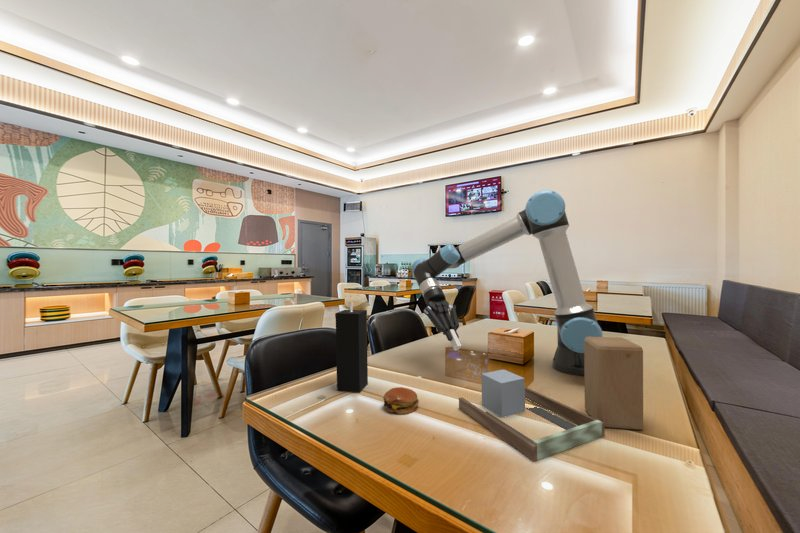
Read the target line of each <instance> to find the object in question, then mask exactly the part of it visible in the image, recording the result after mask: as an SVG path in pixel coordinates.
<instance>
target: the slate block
mask: <svg viewBox="0 0 800 533" xmlns="http://www.w3.org/2000/svg"><path fill="white" fill-rule="evenodd" d="M525 380H526V379H525V377H523V376H520V375H518V374H516V373H513V372H511V371H508V370H506V369H498V370H493V371H488V372H483V373H481V406H483V407H484V408H485V409H487V410H489V411H490V412H492V413H494V414H495V415H497V416H498V417H499V418H501V417H503V418H506V417H510V416H513V414H514V415H516V413H517V414H521V413H524V411H525V412H526V408H525V402H526V399H525V387H526V384H525ZM520 412H521V413H520ZM509 415H510V416H509ZM505 416H506V417H505Z"/></svg>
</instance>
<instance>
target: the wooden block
mask: <svg viewBox="0 0 800 533" xmlns="http://www.w3.org/2000/svg"><path fill="white" fill-rule="evenodd" d="M583 376H584V409H585V411H586V412H587V414H589V416H591V417H593V418H595V419H597V420H599V421H602V422H604V423H605V428H612V429H613V428H615V429H626V430H639V431H641V430H643V429H644V350H643V347H642V346H641V345H639V344H636V343H635V342H632V341H630V340H629V339H626V338H623V337H611V336H609V337H608V336H607V337H605V336H603V337H586V338H585V340H584V375H583Z"/></svg>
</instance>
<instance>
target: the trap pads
mask: <svg viewBox="0 0 800 533" xmlns="http://www.w3.org/2000/svg"><path fill="white" fill-rule="evenodd" d="M526 410H528V408H527V409H526ZM530 410H531V411H530ZM528 411H530V412H532V413H534V414H535V415H537V416H539V415H540V417H541V416H542V417H541V418H543V417H544V418H543V419H545V418H546V419H545V420H547V419H548V420H547V421H549V420H550V421H549V422H550V423H553V424H554V423H555V425H556V424H557V426H559V427H560V428H563V430H568V429H571V428H574V427H577V426H578V425H577V424H575V423H573V422H571V421H569V420H567V419H565V418H563V417H561V416H559V415H558V416H557V414H554V415H552V414H553V412H551V411H549V410H547V409H545V408H543V407H540V408H537V407H534V408H529V410H528ZM485 412H486V413H487V414H489V415H490V416H492V417H493V418H495V419H496V420H498V421H500V422H501V423H503V424H504V425H506V426H507V427H509V428H510V429H512V430H514V431H515V432H517V433H518V434H520V435H521V436H523V437H524V438H526V439H528V440H529V441H531V442H532V443H533V441H534V440H532V439H531V438H530V437H528V436H526V435H525V434H523V433H521V432H520V431H518V430H517V429H515V428H514V427H513V426H510V425H509V424H507V423H505V422H504V421H503V420H502V419H499V418H498V417H497V416H494V415H493V414H492V413H490V412H488V411H485Z"/></svg>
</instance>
